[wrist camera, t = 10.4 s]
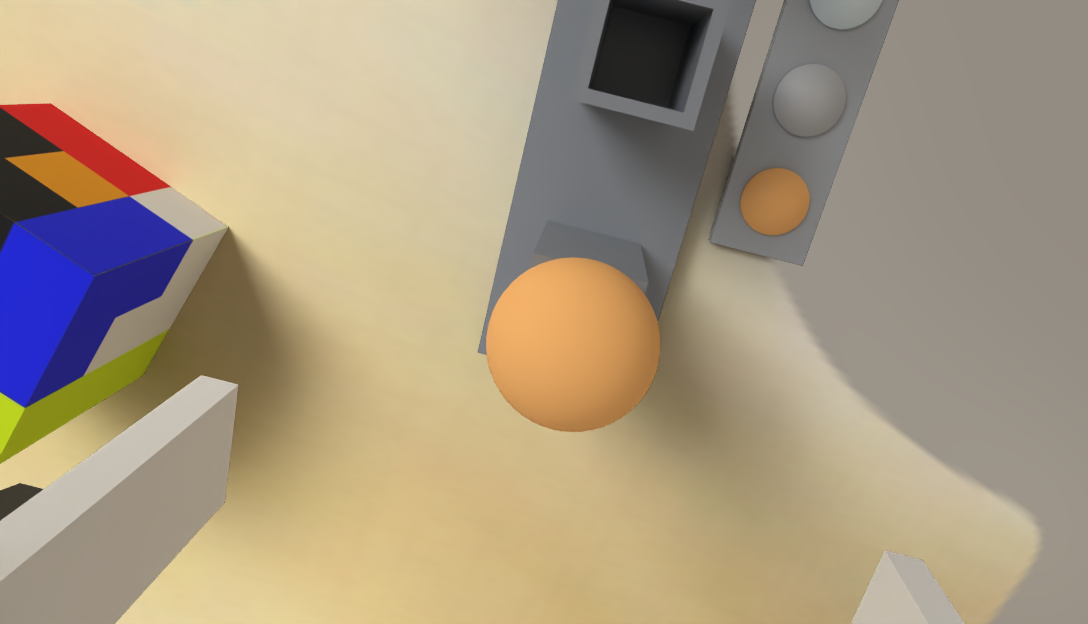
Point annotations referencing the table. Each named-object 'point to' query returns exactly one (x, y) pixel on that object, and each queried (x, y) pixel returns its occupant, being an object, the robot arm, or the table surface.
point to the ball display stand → (621, 136)
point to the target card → (800, 124)
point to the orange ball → (573, 344)
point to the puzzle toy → (83, 269)
